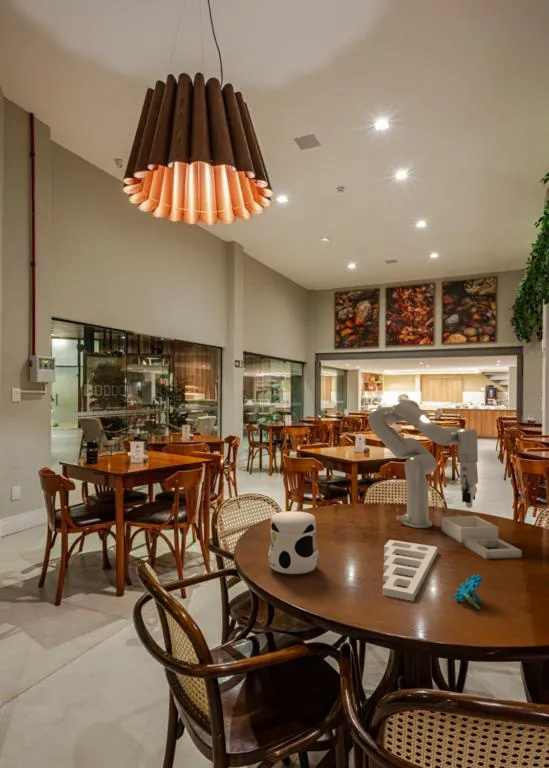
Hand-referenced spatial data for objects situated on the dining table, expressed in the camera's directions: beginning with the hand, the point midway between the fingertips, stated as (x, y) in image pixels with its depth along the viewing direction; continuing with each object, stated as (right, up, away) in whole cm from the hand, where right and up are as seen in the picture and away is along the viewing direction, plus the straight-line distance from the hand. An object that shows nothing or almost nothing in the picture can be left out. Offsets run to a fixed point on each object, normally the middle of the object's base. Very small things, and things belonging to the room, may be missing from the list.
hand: (468, 500), depth 188 cm
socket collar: (+1, -15, -18) cm, 23 cm away
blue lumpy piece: (-26, -14, -59) cm, 66 cm away
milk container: (-76, -15, -35) cm, 85 cm away
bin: (0, -15, 0) cm, 15 cm away
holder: (-39, -15, -35) cm, 54 cm away
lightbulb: (0, -3, 0) cm, 3 cm away
